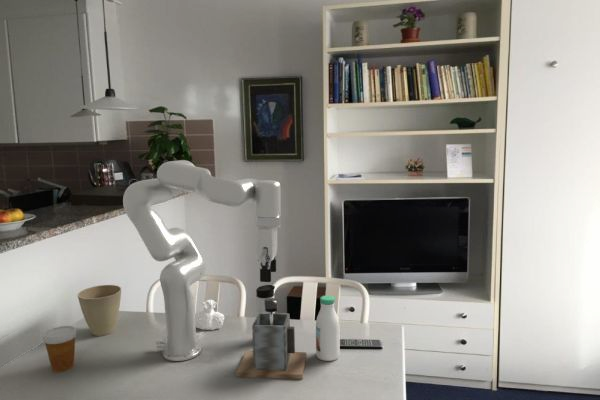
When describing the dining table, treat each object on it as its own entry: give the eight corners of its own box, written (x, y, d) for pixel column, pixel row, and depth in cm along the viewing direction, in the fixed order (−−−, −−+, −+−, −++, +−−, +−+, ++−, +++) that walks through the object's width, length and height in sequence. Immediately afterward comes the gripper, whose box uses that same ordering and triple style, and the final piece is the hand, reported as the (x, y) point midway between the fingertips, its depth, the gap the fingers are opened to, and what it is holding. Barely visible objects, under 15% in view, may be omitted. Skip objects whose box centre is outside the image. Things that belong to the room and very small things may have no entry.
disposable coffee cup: (45, 377, 139) (41, 340, 137) (46, 364, 147) (42, 329, 146) (80, 369, 143) (76, 333, 142) (79, 357, 152) (75, 322, 150)
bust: (225, 332, 174) (228, 303, 179) (221, 327, 167) (224, 297, 173) (194, 332, 175) (198, 303, 180) (189, 327, 168) (193, 297, 174)
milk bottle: (343, 352, 151) (342, 295, 148) (334, 363, 144) (334, 303, 141) (321, 348, 154) (320, 292, 152) (312, 359, 147) (311, 299, 145)
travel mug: (273, 345, 158) (272, 289, 155) (255, 343, 159) (253, 288, 156) (278, 337, 164) (276, 283, 161) (260, 335, 165) (258, 282, 162)
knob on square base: (257, 358, 139) (255, 304, 137) (262, 346, 147) (260, 295, 144) (283, 358, 138) (281, 305, 136) (286, 346, 146) (285, 296, 144)
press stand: (236, 376, 137) (234, 328, 135) (246, 354, 151) (244, 310, 149) (302, 379, 135) (301, 329, 133) (306, 356, 149) (305, 311, 147)
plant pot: (72, 335, 168) (68, 294, 166) (106, 321, 181) (103, 282, 179) (99, 344, 161) (95, 301, 159) (132, 328, 174) (129, 288, 172)
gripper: (261, 216, 146) (261, 267, 148) (249, 227, 129) (250, 285, 131) (284, 216, 145) (284, 268, 147) (276, 228, 128) (276, 286, 130)
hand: (268, 276), depth 139 cm, fingers open, 9 cm apart
